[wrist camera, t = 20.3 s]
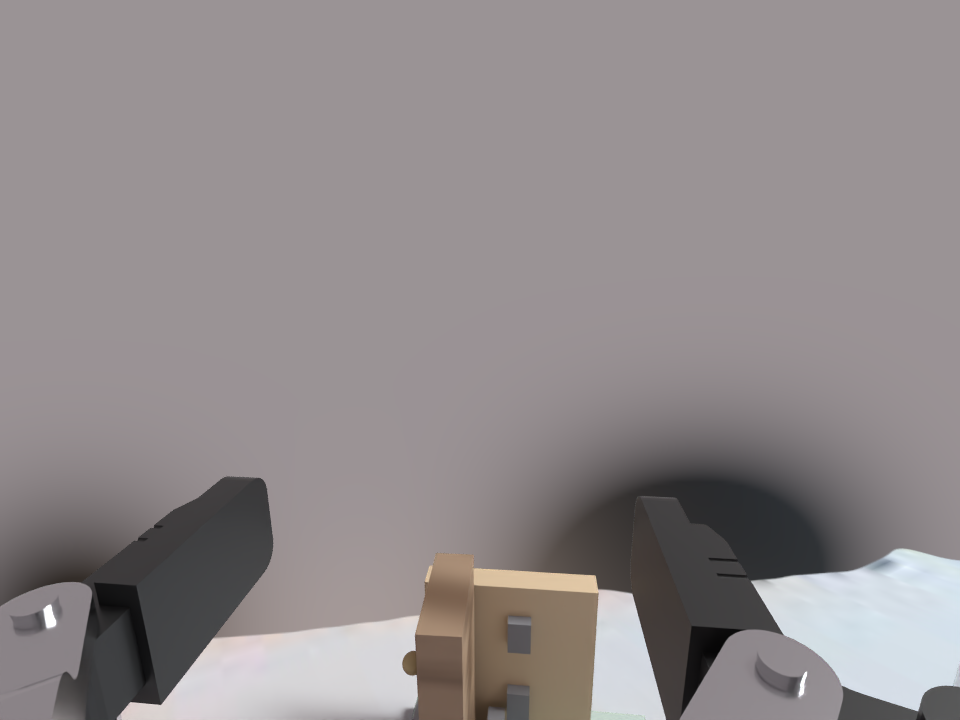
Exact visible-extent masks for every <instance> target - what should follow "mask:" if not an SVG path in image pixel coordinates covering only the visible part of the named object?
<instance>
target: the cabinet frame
mask: <svg viewBox="0 0 960 720" xmlns="http://www.w3.org/2000/svg"><path fill="white" fill-rule="evenodd" d="M432 567H433V566H429V569H428V573H427V576H426V579H425V594H426V590H427V586H428V582H429V579H430V575H431V571H432ZM597 608H598V588H597V582H596V577H595V576H590V575H574V574H558V573H541V572H526V571H509V570H493V569H476V568H474V650H475V720H646V719H645V716H644V715H632V714H621V713H609V712H598V711H591V704H592V688H593V672H594V656H595V640H596V624H597ZM412 720H419V710H418V697H417V701H416V705H415V709H414V713H413V717H412Z"/></svg>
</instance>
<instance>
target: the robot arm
mask: <svg viewBox="0 0 960 720" xmlns="http://www.w3.org/2000/svg"><path fill="white" fill-rule="evenodd" d="M272 551H273V535H272V527H271V519H270V511H269V503H268V495H267V488H266V484H265V482H264V481H263V480H262V479H261V478H249V477H224V478H222V479H221V480H220V481H219V482H217V483H216V484H215V485H213V486H212V487H211V488H210V489H209V490H207V491H206V492H205V493H204V494H203V495H201V496H200V497H199V498H197V499H195V500H193V501H191V502H189V503H187V504H185V505H183V506H181V507H179V508H177V509H175V510H173V511H172V512H170V513H169V514H168V515H166V516H165V517H164V518H163V519H161V520H160V521H159V522H158V523H156V524H155V525H154V528H150V529H149V530H148V531H146V532H145V533H144V534H142V535H141V536H140V537H139V538H138V541H133V542H132V543H131V544H130V545H128V546H127V547H126V548H125V549H123V550H122V551H121V552H120V553H118V554H117V555H116V556H115V557H113V558H112V559H111V560H109V561H108V562H107V563H106V564H104V565H103V566H102V567H100V568H99V569H98V570H97V571H95V572H94V573H93V574H92V575H90V576H89V577H88V578H87V579H85V580H84V581H83V582H81V583H78V582H65V583H58V584H52V585H48V586H44V587H41V588H38V589H35V590H33V591H30V592H27V593H25V594H22V595H20V596H18V597H16V598H14V599H12V600H11V601H9V602H7V603H5V604H4V605H2V606H0V720H122V719H121V712H122V711H123V710H124V709H125V708H126V706H127V705H128V704H129V703H130V702H136V703H147V704H157V705H161V704H162V703H163V702H164V700H165V699H166V698H167V696H168V695H169V694H170V693H171V691H172V690H173V689H174V687H175V686H176V685H177V684H178V682H179V681H180V680H181V679H182V677H183V676H184V675H185V673H186V672H187V671H188V670H189V668H190V667H191V666H192V664H193V663H194V662H195V661H196V659H197V658H198V657H199V655H200V654H201V653H202V652H203V650H204V649H205V648H206V646H207V645H208V644H209V643H210V641H211V640H212V639H213V637H214V636H215V635H216V634H217V632H218V631H219V630H220V628H221V627H222V626H223V625H224V623H225V622H226V621H227V619H228V618H229V617H230V615H231V614H232V613H233V612H234V610H235V609H236V608H237V607H238V605H239V604H240V603H241V601H242V600H243V599H244V597H245V596H246V595H247V594H248V592H249V591H250V590H251V588H252V587H253V586H254V585H255V583H256V582H257V581H258V580H259V578H260V577H261V576H262V574H263V573H264V572H265V570H266V569H267V567H268V565H269V562H270V559H271V556H272ZM630 567H631V568H630V569H631V571H630V572H631V585H632V593H633V597H634V601H635V605H636V608H637V612H638V616H639V620H640V623H641V627H642V631H643V634H644V638H645V642H646V646H647V649H648V653H649V657H650V661H651V664H652V668H653V672H654V675H655V679H656V683H657V687H658V690H659V694H660V698H661V702H662V705H663V709H664V713H665V716H666V720H960V663H959V666H958V670H957V673H956V677H955V680H954V684H953V686H938V687H935V688H931V689H929V690H928V691H927V692H925V694H924V695H923V697H922V700H921V703H920V707H919V711H915V710H911V709H908V708H905V707H902V706H899V705H895V704H892V703H889V702H886V701H883V700H880V699H876V698H873V697H870V696H867V695H864V694H861V693H858V692H855V691H853V690H850V689H848V688H846V687H844V686H842V685H841V683H840V681H839V678H838V677H837V675H836V674H835V672H834V671H833V669H832V668H831V667H830V666H829V665H828V664H827V663H826V662H825V661H824V660H823V659H822V658H821V657H820V656H819V655H818V654H816V653H815V652H814V651H812V650H811V649H809V648H808V647H806V646H805V645H803V644H801V643H799V642H797V641H796V640H794V639H791V638H789V637H786V636H784V635H783V633H782V632H781V630H780V628H779V627H778V625H777V623H776V622H775V620H774V619H773V617H772V615H771V614H770V612H769V610H768V609H767V607H766V605H765V604H764V602H763V601H762V599H761V597H760V596H759V594H758V592H757V591H756V589H755V587H754V586H753V584H752V583H751V581H750V579H747V574H746V573H745V571H744V569H743V568H742V566H741V564H739V563H738V562H737V558H736V556H735V555H734V553H733V551H732V550H731V548H730V546H729V545H728V543H727V542H726V540H724V539H723V538H722V537H721V536H719V535H718V534H717V533H716V532H714V531H713V530H712V529H711V528H709V527H708V526H707V525H705V524H690V522H689V520H688V519H687V517H686V515H685V513H684V511H683V509H682V507H681V505H680V504H679V501H678V500H677V499H676V498H668V497H646V496H645V497H644V496H638V497H637V500H636V504H635V515H634V527H633V539H632V551H631V566H630Z"/></svg>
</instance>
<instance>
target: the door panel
mask: <svg viewBox="0 0 960 720" xmlns="http://www.w3.org/2000/svg"><path fill="white" fill-rule="evenodd" d="M415 644H416V651H411V652H409V653H407V654H406V655H405V657H404V659H403V662H402V665H403V669H404V671H405V672H406V673H407V674H408V675H412V676H413V675H417V688H418V710H419V720H475V650H474V555H467V554H466V555H464V554H444V553H443V554H442V553H436V555H435V559H434V563H433V567H432V571H431V575H430V579H429V582H428V586H427V590H426V594H425V598H424V602H423V606H422V610H421V614H420V617H419V621H418V625H417V629H416V633H415Z"/></svg>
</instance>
